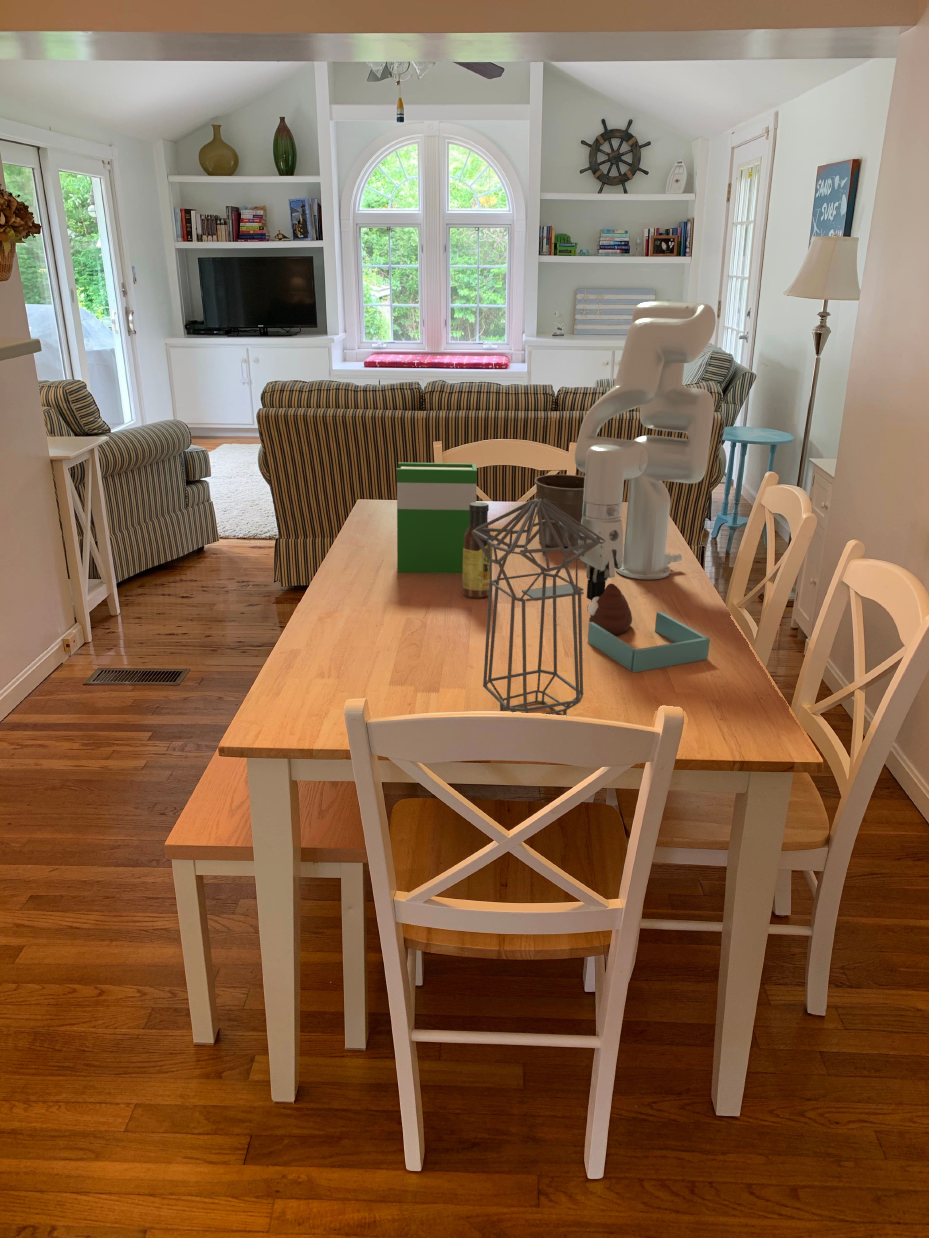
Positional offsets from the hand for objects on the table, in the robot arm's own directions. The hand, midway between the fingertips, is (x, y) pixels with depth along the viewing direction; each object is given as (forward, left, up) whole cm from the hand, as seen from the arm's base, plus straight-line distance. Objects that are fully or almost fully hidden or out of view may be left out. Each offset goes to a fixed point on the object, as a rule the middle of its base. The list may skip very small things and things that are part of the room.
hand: (595, 598), depth 188 cm
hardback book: (+17, -42, -4) cm, 45 cm away
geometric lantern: (+33, +33, -4) cm, 47 cm away
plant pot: (-22, -50, -4) cm, 55 cm away
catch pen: (0, +18, -4) cm, 19 cm away
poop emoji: (0, +6, -4) cm, 7 cm away
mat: (0, -17, -4) cm, 17 cm away
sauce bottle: (+16, -22, -4) cm, 27 cm away
